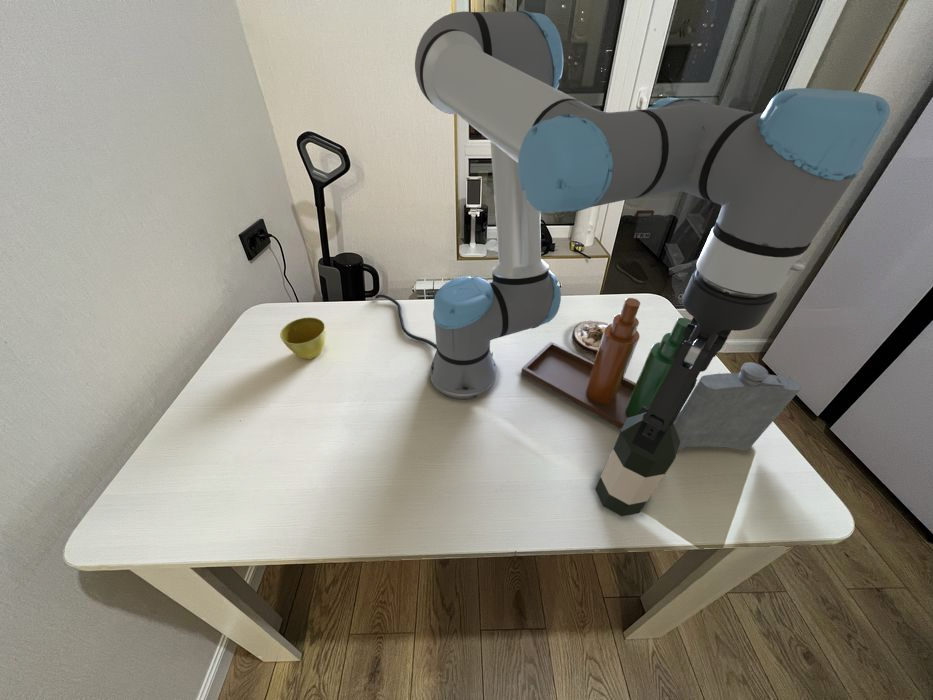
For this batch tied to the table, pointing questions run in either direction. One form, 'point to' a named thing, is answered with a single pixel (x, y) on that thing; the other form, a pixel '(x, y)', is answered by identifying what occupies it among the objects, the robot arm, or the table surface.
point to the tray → (576, 381)
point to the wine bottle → (636, 467)
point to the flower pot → (304, 337)
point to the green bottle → (655, 369)
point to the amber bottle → (614, 354)
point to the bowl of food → (588, 335)
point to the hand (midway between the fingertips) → (662, 414)
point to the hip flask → (733, 407)
